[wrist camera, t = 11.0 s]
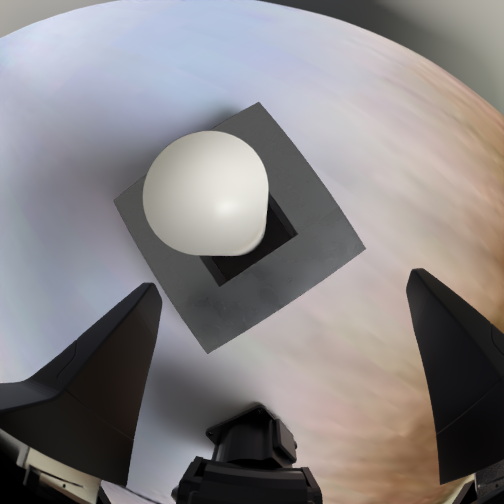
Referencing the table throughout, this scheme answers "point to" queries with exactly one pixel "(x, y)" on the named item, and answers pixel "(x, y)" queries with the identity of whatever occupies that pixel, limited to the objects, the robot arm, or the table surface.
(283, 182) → the collar
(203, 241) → the peg
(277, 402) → the table surface
